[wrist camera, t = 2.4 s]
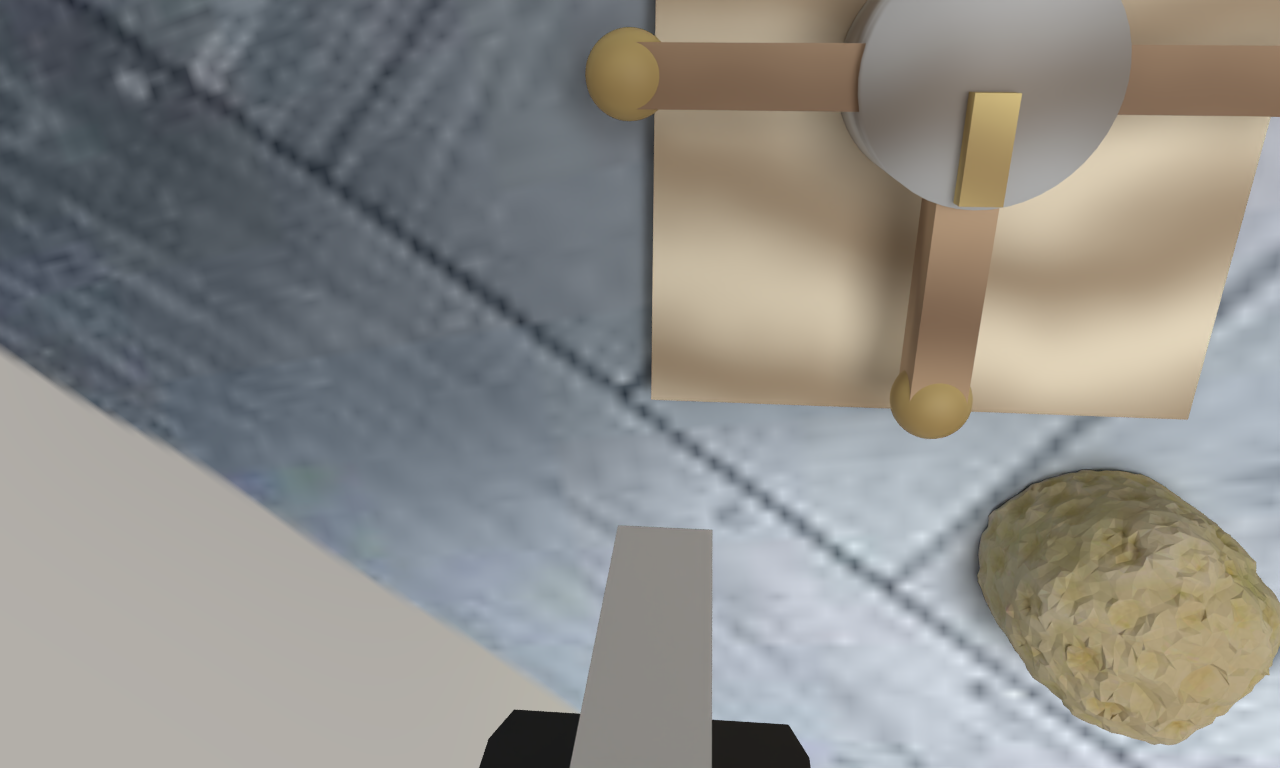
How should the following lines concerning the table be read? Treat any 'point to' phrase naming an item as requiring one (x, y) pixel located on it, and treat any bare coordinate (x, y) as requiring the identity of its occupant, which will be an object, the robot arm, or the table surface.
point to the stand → (887, 233)
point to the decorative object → (1128, 603)
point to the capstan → (949, 128)
